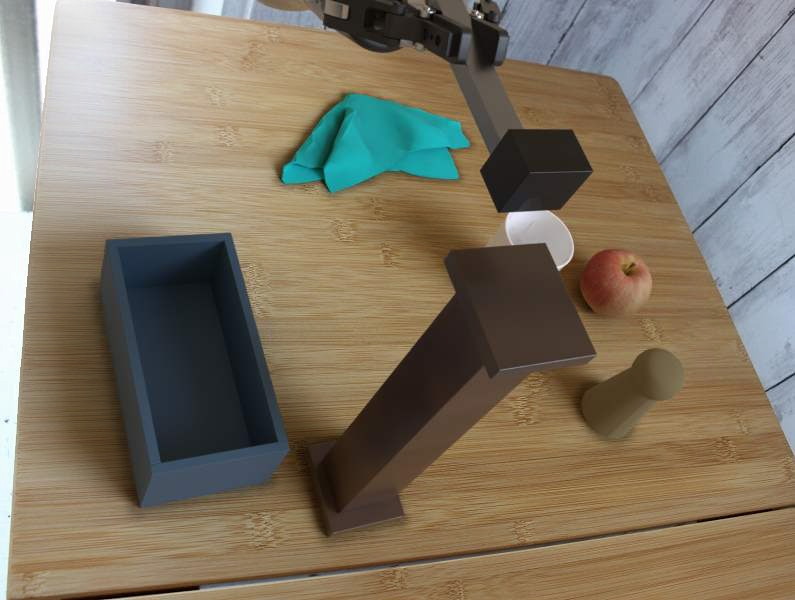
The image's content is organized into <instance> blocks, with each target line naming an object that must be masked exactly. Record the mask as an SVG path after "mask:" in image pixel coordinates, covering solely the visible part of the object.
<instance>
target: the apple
mask: <svg viewBox="0 0 795 600" xmlns="http://www.w3.org/2000/svg"><path fill="white" fill-rule="evenodd" d="M579 282H580V283H579V287H580V292H581V295H582V297H583V298H584V300H585V303H587V305H588V306H589V308H591V310H592V311H593V312H594V313H596V314H597V315H599V316H601V317H604V318H608V319H613V320H615V319H616V320H617V319H618V320H619V319H620V320H621V319H624V318H625V319H626V318H628V317H631V316H633V315H635V314H636V313H637V312H639V311H640V310H642V308H643V307H644V306H645V305H646V304H647V302H648V300H649V298H650V296H651V293H652V289H653V279H652V275H651V272H650V270H649V268H648V266H647V265H646V263H645V262H644V261H643V259H642V258H641V257H640V256H639V255H637V254H636V253H634V252H633V251H631V250H629V249H628V250H627V249H622V248H608V249H603V250H601V251H598V252H596V253H595V254H593V256H591V258H590V259H589V260H588V261H587V263H586V264H585V266H584V267H583V269H582V271H581V274H580V280H579Z"/></svg>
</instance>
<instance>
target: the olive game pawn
mask: <svg viewBox="0 0 795 600" xmlns="http://www.w3.org/2000/svg"><path fill="white" fill-rule="evenodd" d="M685 382H686V371H685V367H684V365H683V363H682V362H681V361H680V360H679V358H678V357H677V355H675V354H674V353H672V352H671V351H669V350H668V349H665V348H660V347H653V348H648V349H645V350H643V351H642V352H640V353H639V354H638V355H637V356H636V358H635V359H634V360H633V362H632V363H631V366H630V367H629V368H626V369H625V370H622V371H621V372H619V373H617V374H615V375H613V376H610V377H609V378H607V379H605V380H603V381H601V382H599V383H598V384H596V385H594V386H591V387H590V388H589V389H587V390H586V391H585V392H584V393H583V395H582V397H581V402H580V406H581V413H582V415H583V418H584V420H585V422H586V423H587V424H588V426H589V427H590V428H591V429H592V430H593V431H594V432H595V433H596V434H598V435H600V436H601V437H603V438H605V439H611V440H615V439H621V438H622V437H624V436H625V435H627V433H629V432H630V430H632V428H634V427H635V426H636V425H637V424H638V422H640V421H641V420H642V419H643V418H644V417H645V416H646V415H647V414H648V413H649V412H650V411H651V410H652V409H653V407H654V406H656V405H657V403H658V402H662V401H663V402H664V401H668V400H671V399H673V398H674V397H676V396H677V395H678V394H680V393H681V391H682V390H683V388H684V386H685Z"/></svg>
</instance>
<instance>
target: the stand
mask: <svg viewBox="0 0 795 600" xmlns="http://www.w3.org/2000/svg"><path fill="white" fill-rule="evenodd" d="M443 264H444V267H445V269H446V272H447V274H448V277H449V280H450V282H451V284H452V287H453V290H454V292H455V293H454V294H453V296H452V297H451V298H450V300H448V301H447V303H446V304H445V306H444V307H443V308H442V310H440V312H439V313H438V314H437V316H435V318H434V319H433V321H432V322H431V323H430V324H429V325H428V327H427V328H426V329H425V330H424V331H423V333H422V335H420V336H419V338H418V339H417V341H416V342H415V343H414V344H413V345H412V347H411V348H410V349H409V351H408V352H407V353H406V354H405V355H404V357H403V358H402V359H401V360H400V362H399V363H398V364H397V366H396V367H395V368H394V369H393V371H392V372H391V373H390V375H388V377H386V379H385V381H384V382H383V383H382V384H381V386H379V388H378V389H377V391H376V392H375V393H374V394H373V395H372V397H371V398H370V400H369V401H367V403H366V404H365V406H363V408H362V409H361V410H360V411H359V413H358V414H357V416H356V417H354V419H353V421H352V422H351V423H350V424H349V426H348V427H347V428H346V429H345V430H344V432H343V433H342V434H341V436H340V437H339V438H338V439H335V440H330V441H329V440H328V441H324V442H318V443H313V444H307V445H306V446H305V447H304V449H303V452H304V456H305V459H306V463H307V467H308V471H309V474H310V477H311V482H312V485H313V488H314V492H315V495H316V499H317V502H318V507H319V510H320V514H321V516H322V521H323V525H324V528H325V531H326V535H327V538H329V539H330V538H332V537H337V536H343V535H345V534H346V535H347V534H349V533H354V532H358V531H362V530H366V529H371V528H374V527H378V526H383V525H386V524H391V523H395V522H399V521H401V520H402V519H403V518H405V517H406V514H405V511H404V508H403V505H402V502H401V499H400V496H399V494H401V492H403V491H404V490H405V489H407V487H408V486H410V485H411V483H413V482H414V481H415V480H416V479H417V478H418V477H419V476H421V474H422V473H424V472H425V471H426V470H427V469H428V468H429V467H430V466H431V465H432V464H434V463H435V462H436V461H437V460H438V459H439V458H440V457H441V456H442V455H443V454H444V453H446V452H447V451H448V450H449V449H450V448H451V447H452V446H454V444H456V443H457V442H458V441H459V440H460V439H461V438H462V437H463V436H464V435H465V434H466V433H468V432H469V431H470V430H472V428H473V427H474V426H475V425H476V424H477V423H478V422H480V421H481V420H482V419H483V418H484V417H485V416H486V415H487V414H488V413H489V412H491V411H492V410H493V409H494V408H495V407H496V406H497V405H499V403H500V402H501V401H503V400H504V399H505V398H506V397H507V396H509V394H511V392H512V391H514V390H515V389H516V388H517V387H518V386H519V385H520V384H522V382H524V381H525V380H526V379H527V378H528V377H529V376H531V374H535V373H541V372H545V371H552V370H560V369H565V368H570V367H577V366H584V365H588V364H589V363H590V362H591V361H593V360H594V359H595V358H596V357H597V356H598V354H597V351H596V349H595V347H594V344H593V342H592V340H591V338H590V336H589V333H588V331H587V329H586V327H585V325H584V323H583V320H582V319H581V316H580V314H579V311H578V310H577V308H576V305H575V303H574V301H573V299H572V296H571V294H570V293H569V291H568V288H567V286H566V283H565V281H564V280H563V276H562V275H561V273H560V271H558V268H557V266H556V264H555V262H554V260H553V258H552V255H551V253H550V251H549V249H548V247H547V245H546V243H534V244H521V245H508V246H494V247H485V246H484V247H483V246H481V247H469V248H467V247H466V248H456V249H450V250H449V251H448V253H447V254H446V256H444V258H443Z"/></svg>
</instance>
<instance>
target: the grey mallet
mask: <svg viewBox="0 0 795 600" xmlns="http://www.w3.org/2000/svg"><path fill="white" fill-rule="evenodd" d="M427 6H429V7H431V8H433V9H434V10H436V14H443V15H445V16H447V17H449V18H451V19H453V20H455V21H457V22H459V23H461V24H463V25H466V26H468V27H469V28H470V29H471V31H472V39H471V44H470V49H469V54H468V59H467V62H466V63H465V64H464V65H457V64H451V63H449V62H448V64H449V66H450V69H451V71H452V74H453V75H454V78H455V80H456V82H457V84H458V87H459V89H460V91H461V93H462V95H463V98H464V100H465V103H466V105H467V106H468V109H469V111H470V113H471V115H472V118H473V121H474V122H475V124H476V127H477V129H478V131H479V134H480V135H481V138H482V140H483V142H484V145H485V147H486V149H487V151H488V153H489V154H488V155H489V156H488V157H487V159H486V161H485V162H484V163H483V165H482V166H481V167H480V169H479V173H480V175H481V178H482V180H483V182H484V184H485V187H486V189H487V191H488V194H489V196H490V198H491V200H492V203H493V205H494V208H495V209H496V212H497V214H505V213H506V214H508V213H509V212H529V211H561V210H562V209H563V207H565V205H566V204H567V203H568V202H569V200H571V198H572V197H573V196H574V195H575V193H576V192H577V191H578V190H579V189H580V188H581V187H582V186H583V185H584V183H585V182H586V181H587V180H588V179H589V177H590V176H591V175H592V174H593V173H594V169H593V167H592V165H591V163H590V161H589V159H588V157H587V155H586V153H585V151H584V149H583V147H582V145H581V143H580V141H579V139H578V138H577V136H576V133H575V131H574V129H572V128H565V129H564V128H524V127H523V124H522V123H521V121H520V118H519V116H518V114H517V112H516V110H515V108H514V106H513V104H512V102H511V99H510V97H509V95H508V93H507V91H506V88H505V87H504V84H503V82H502V80H501V78H500V76H499V74H498V72H497V70H496V67H495V66H494V65H493V64H492V61H491V59H490V57H489V55H488V53H487V51H486V49H485V47H484V45H483V43H482V40H481V38H480V36H479V34H478V32H477V30H476V28H475V26H474V24H473V21H472V19H471V17H470V15H469V13H468V11H467V9H466V7H465V4H464V2H463V0H429V2H428V4H427Z"/></svg>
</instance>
